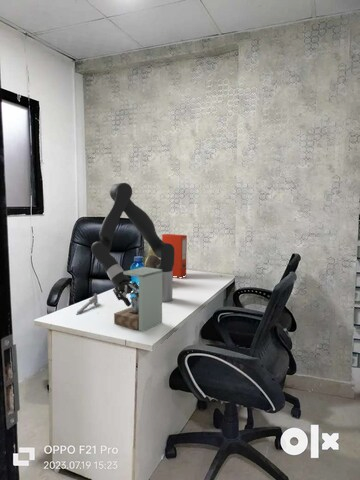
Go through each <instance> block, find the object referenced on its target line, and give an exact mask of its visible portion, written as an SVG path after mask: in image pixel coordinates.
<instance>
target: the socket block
mask: <svg viewBox="0 0 360 480" xmlns="http://www.w3.org/2000/svg"><path fill="white" fill-rule="evenodd" d="M113 314H114V315H113V317H114V318H113V319H114V322H113V324H115V325H118V326H120V327H124V328H128V329H132V330H136V331H139V314H137V315H136V314H132V306H131V307H130V306H129V307H128V308H125V309H122V310H119V311H117V312H115V313H113Z"/></svg>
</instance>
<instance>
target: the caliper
mask: <svg viewBox="0 0 360 480" xmlns="http://www.w3.org/2000/svg"><path fill="white" fill-rule="evenodd" d="M98 303H99V302H98V294H97V293H94V294H93V296H92V297H91V298H90V299H88V301H87V303H85V304H84V305H83V306H82V307H80V309H78V310H77V311H76V313H75V315H76V316H77V315H80V314H81V313H83V312H84V311H85V310H86V309H87V308H88V307H89V306H90V305H97V304H98Z"/></svg>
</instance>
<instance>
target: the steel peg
mask: <svg viewBox="0 0 360 480" xmlns="http://www.w3.org/2000/svg"><path fill="white" fill-rule="evenodd" d="M131 307H132V314H136V315H137V314H139V297H136V296H132V297H131Z"/></svg>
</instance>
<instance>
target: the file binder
mask: <svg viewBox="0 0 360 480" xmlns="http://www.w3.org/2000/svg"><path fill="white" fill-rule="evenodd" d="M187 237H188V236H187V235H185V234H175V233H174V234H171V233H166V234H165V233H164V234H162V235H161V240H162V241H163V242H164V243H169V244H172V245H173V247H174V250H175V257H174V266H173V276H177V277H183V276H185V275H186V276H187V249H188V248H187V245H188V243H187V241H188V238H187Z"/></svg>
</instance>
